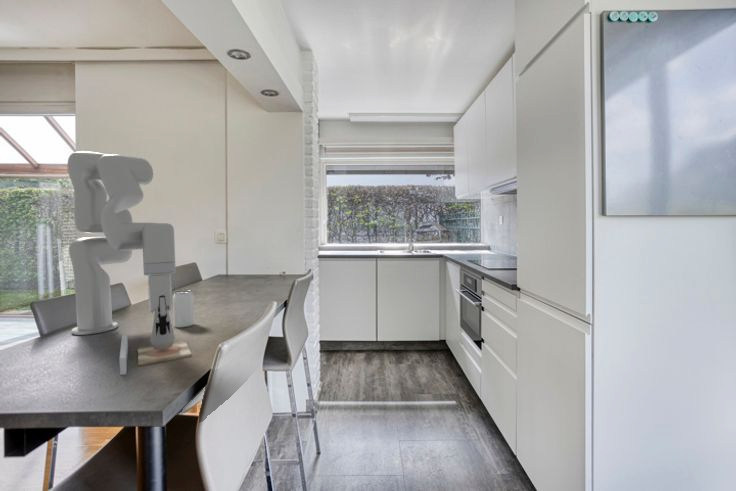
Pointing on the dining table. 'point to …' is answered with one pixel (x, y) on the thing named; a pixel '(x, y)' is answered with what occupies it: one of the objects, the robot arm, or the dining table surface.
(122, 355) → the acrylic wall
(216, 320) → the dining table surface
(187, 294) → the can
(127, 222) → the robot arm
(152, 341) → the salt shaker
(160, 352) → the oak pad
